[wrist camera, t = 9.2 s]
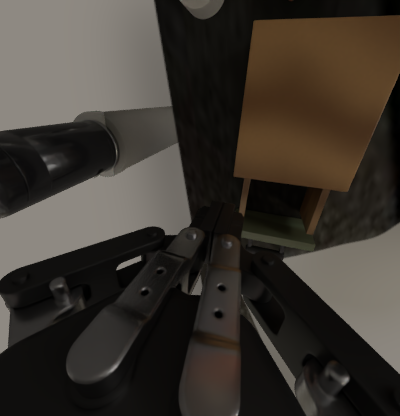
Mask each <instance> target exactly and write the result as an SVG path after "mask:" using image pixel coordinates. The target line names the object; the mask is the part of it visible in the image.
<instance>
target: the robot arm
mask: <svg viewBox="0 0 400 416" xmlns="http://www.w3.org/2000/svg"><path fill="white" fill-rule="evenodd" d="M119 157H120V150H119V145H118V142H117V140H116V138H115V136H114V134H113V133H112V132H111V130H110V129H109V128H108V127H107V126H106V125H104V124H103V123H101V122H99V121H96V120H84V121H80V122H71V123H63V124H55V125H47V126H39V127H32V128H31V127H30V128H22V129H14V130H6V131H0V218H4V217H7V216H9V215H12V214H14V213H16V212H18V211H20V210H22V209H25V208H27V207H29V206H31V205H33V204H35V203H38V202H40V201H42V200H44V199H46V198H48V197H51V196H53V195H55V194H57V193H59V192H62V191H64V190H66V189H68V188H70V187H73V186H75V185H77V184H79V183H81V182H84V181H86V180H88V179H90V178H92V177H95V176H96V177H97V176H99V175H100V174H102V173H103V172H107V171H109V170H111V169H113V168H114V167H115V166H116V165H117V163H118V161H119ZM234 209H235V204H229V203H224V202H218V201H213V202H212V204H211V206H210V207H206V206H204V207H202V208H200V209H199V210H198V212H197V214H196V215H195V217H194V219H193V221H192V222H191V224H190V226H189V227H187V228H184V229H182V230H181V231H180V233H179V234H178V235H165V232H164V230H163V229H161V228H159V227H147V228H144V229H141V230H137V231H134V232H131V233H128V234H125V235H122V236H119V237H115V238H112V239H109V240H106V241H103V242H100V243H97V244H94V245H90V246H87V247H84V248H81V249H78V250H75V251H72V252H68V253H65V254H62V255H59V256H56V257H53V258H49V259H46V260H43V261H40V262H37V263H34V264H31V265H27V266H24V267H21V268H19V269H16V270H14V271H12V272H10V273H8V274H7V275H6V276H4V277H3V278H2V279H1V280H0V295H1V296H2V298H3V299H4V301H5V305H6V307H7V308H8V310H9V311H10V324H9V340H8V348H7V349H6V350H5V351H3V352H2V353H1V354H0V416H400V374H399V373H398V372H397V371H396V370H395V369H394V368H393V367H392V366H391V365H389V364H388V363H387V362H386V361H385V360H384V359H383V358H382V357H381V356H380V355H379V354H378V353H377V352H376V351H375V350H374V349H373V348H372V347H371V346H370V345H369V344H368V343H367V342H366V341H365V340H364V339H363V338H362V337H361V336H359V335H358V334H357V333H356V332H355V331H354V330H353V329H352V328H351V327H350V326H349V325H348V324H347V323H346V322H345V321H344V320H343V319H342V318H341V317H340V316H339V315H338V314H336V312H335V311H334V310H333V309H332V308H330V307H329V306H328V305H327V304H326V303H325V302H324V301H323V300H322V299H321V298H320V297H319V296H318V295H317V294H316V293H315V292H314V291H313V290H312V289H311V288H310V287H309V286H308V285H307V284H306V283H305V282H303V281H302V279H300V278H299V277H298V276H297V275H296V274H295V273H294V272H293V271H292V270H291V269H290V268H289V267H288V266H287V265H286V264H285V263H284V262H283V261H282V260H281V259H280V258H279V257H278V256H276V255H275V254H273V253H270V252H267V251H259V252H256V253H255V254H252V253H250V252H248V251H246V250H245V249H244V248H243V247H242V245H241V242H240V241H241V235H242V228H243V222H244V216H243V215H242V213H238V212H234ZM140 255H141V261H139V262H137V263H134V264H132V265H130V266H127V267H125V268H122V269H120V270H116V269H117V267H118V265H119V264H121V263H123V262H125V261H128V260H130V259H133V258H135V257H138V256H140ZM204 263H207V264H208V265H207V270H206V274H205V279H204V283H203V287H202V292H201V295H191V294H192V291H193V289H194V287H195V285H196V283H197V281H198V279H199V276H200V274H201V269H202V267H203V264H204ZM241 294H242V295H243V299H244V301H245V303H246V304H247V306H248V307H249V309H250V310H251V312H252V313H253V315H254V316H255V318H256V319H257V321H258V322H259V324H260V325H261V327H262V328H263V330H264V331H265V333H266V334H267V336H268V337H269V339H270V340H271V342H272V344H273V345H274V347H275V348H276V350H277V351H278V353H279V354H280V356H281V357H282V359H283V360H284V362H285V363H286V365H287V366H288V368H289V369H290V371H291V372H292V374H293V375H294V376H295V378H296V381H295V394H296V397H295V395H294V394H293V392H292V390H291V389H290V387H289V385H288V384H287V382H286V380H285V378H284V377H283V375H282V373H281V372H280V370H279V368H278V367H277V365H276V363H275V362H274V360H273V358H272V356H271V355H270V353H269V351H268V350H267V348H266V346H265V345H264V343H263V341H262V339H261V338H260V336H259V334H258V333H257V331H256V330H255V328H254V327H253V326H252V324H251V323H250V322H249V321H248V320H247V319H246V318H245V317H244V316H243V315H241V314H240V306H241ZM296 398H297V399H296Z"/></svg>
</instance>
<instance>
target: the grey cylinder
mask: <svg viewBox="0 0 400 416" xmlns="http://www.w3.org/2000/svg"><path fill="white" fill-rule="evenodd" d="M180 1H181V2H182V4H183V5H184V6H185V7H186V8H187V9H188V10H189V12H190V13H191V14H192V15H193V16H195V17H196V18H199V19H207V18H210V17H212V16H213V15H215V14H216V13H217V12H218V11H219V9H220V8H221V6H222V4H223V2H224V0H180Z"/></svg>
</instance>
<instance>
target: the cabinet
mask: <svg viewBox="0 0 400 416" xmlns="http://www.w3.org/2000/svg"><path fill="white" fill-rule="evenodd" d="M399 73H400V15H396V16H366V17H337V18H307V19H277V20H254V22H253V30H252V38H251V45H250V53H249V61H248V68H247V76H246V83H245V91H244V99H243V106H242V114H241V122H240V129H239V137H238V145H237V152H236V160H235V168H234V175H233V176H234V177H241V178H248V179H256V180H263V181H270V182H277V183H285V184H292V185H299V186H307V187H314V188H321V189H329V190H336V191H343V192H347V191H348V189H349V187H350V185H351V182H352V180H353V178H354V176H355V173H356V171H357V169H358V166H359V164H360V162H361V160H362V157H363V155H364V153H365V150H366V148H367V146H368V144H369V141H370V139H371V137H372V135H373V132H374V130H375V128H376V125H377V123H378V121H379V119H380V116H381V114H382V112H383V110H384V107H385V105H386V103H387V100H388V98H389V96H390V94H391V91H392V89H393V87H394V85H395V82H396V80H397V78H398V75H399Z"/></svg>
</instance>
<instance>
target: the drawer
mask: <svg viewBox="0 0 400 416" xmlns="http://www.w3.org/2000/svg"><path fill="white" fill-rule="evenodd" d="M250 180H251V179H248V178H244V182H243V189H242V195H241V201H240V208H236V212H238V213H242V215H243V216H244V222H243V228H242V235H241V237H243V238H248V239H249V241H248V244H247V245H246V249H245V250H246V251H248V252H250V253H252V254H255V253H256V252H259V251H267V252H270V253H273V254H275V255H276V256H278V257H279V258H280V259H281V260H283V258H284V249H285V246H288V247H293V248H297V249H302V250H307V251H313V249H314V247H315V242H314V239H313V237H312V235H313V233H314V230H315V228H316V225H317V222H318V220H319V217H320V215H321V212H322V210H323V207H324V205H325V202H326V200H327V197H328V194H329V192H330V190H329V189H321V188H314V187H307V190H306V193H305V196H304V199H303V202H302V205H301V208H300V214H301V218H302V219H298V218H292V217H286V216H280V215H274V214H269V213H263V212H257V211H251V210H245V208H246V203H247V197H248V191H249V186H250ZM253 240H258V241H263V242H268V243H273V244H278V245H280V249H279V251H277V250H272V249H267V248H262V247H257V246H252V241H253Z"/></svg>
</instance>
